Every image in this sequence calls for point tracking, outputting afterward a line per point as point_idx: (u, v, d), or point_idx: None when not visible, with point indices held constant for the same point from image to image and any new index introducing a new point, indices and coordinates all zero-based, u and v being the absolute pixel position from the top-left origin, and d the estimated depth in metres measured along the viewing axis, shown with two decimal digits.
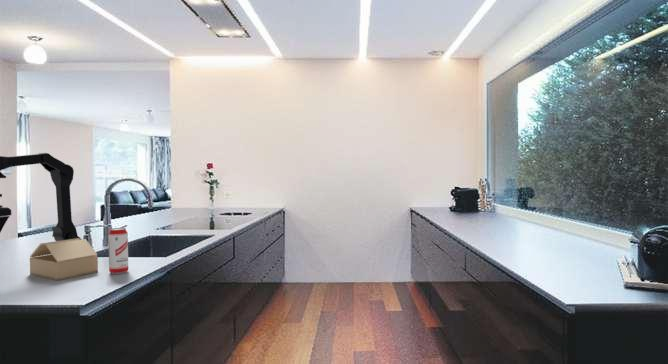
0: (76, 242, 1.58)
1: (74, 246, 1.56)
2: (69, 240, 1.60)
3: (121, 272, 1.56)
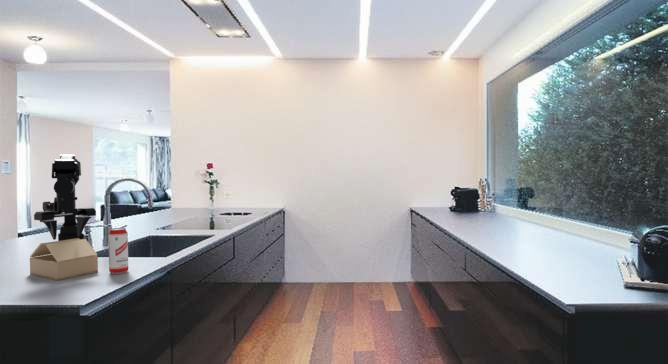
0: (76, 242, 1.58)
1: (74, 246, 1.56)
2: (69, 240, 1.60)
3: (121, 272, 1.56)
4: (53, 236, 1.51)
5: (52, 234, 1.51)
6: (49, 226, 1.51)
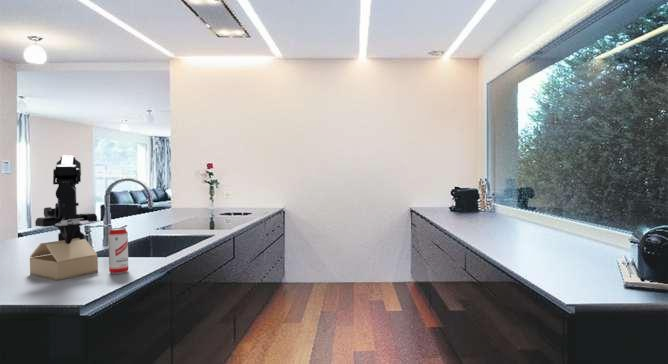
0: (76, 242, 1.58)
1: (74, 246, 1.56)
2: None
3: (121, 272, 1.56)
4: (66, 240, 1.55)
5: (65, 238, 1.55)
6: (62, 230, 1.54)
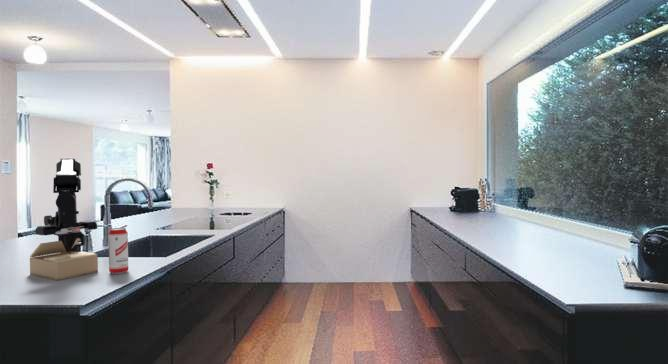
0: (74, 253, 1.59)
1: (72, 254, 1.57)
2: None
3: (121, 272, 1.56)
4: (66, 248, 1.55)
5: (65, 247, 1.54)
6: (62, 239, 1.54)
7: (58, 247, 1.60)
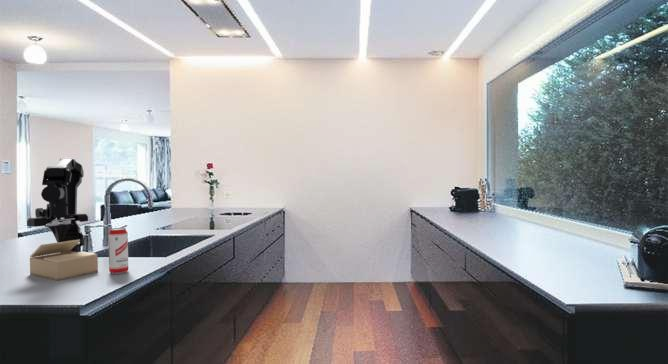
0: (74, 253, 1.59)
1: (72, 254, 1.57)
2: (70, 241, 1.60)
3: (121, 272, 1.56)
4: (58, 240, 1.58)
5: (57, 238, 1.57)
6: (54, 231, 1.57)
7: (58, 248, 1.60)
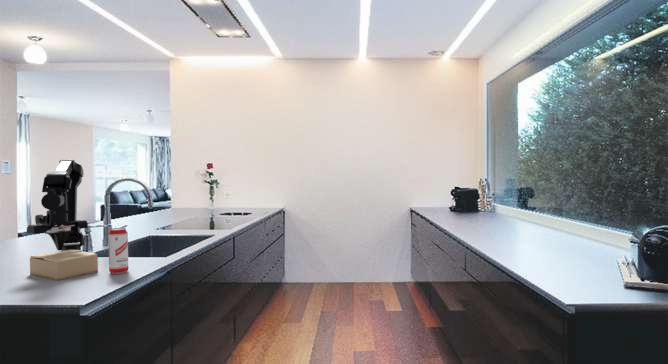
0: (74, 253, 1.59)
1: (72, 254, 1.57)
2: None
3: (121, 272, 1.56)
4: (57, 247, 1.58)
5: (56, 245, 1.57)
6: (53, 237, 1.57)
7: None
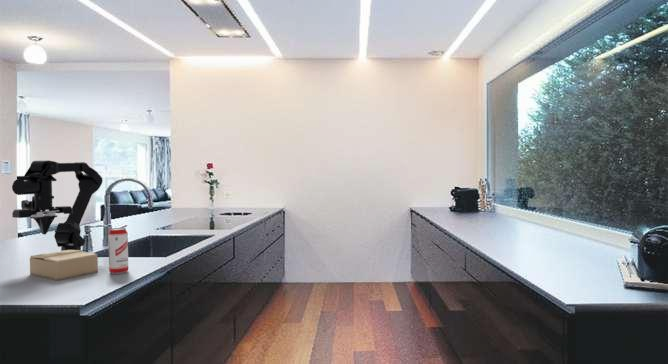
0: (74, 253, 1.59)
1: (72, 254, 1.57)
2: None
3: (121, 272, 1.56)
4: (42, 231, 1.64)
5: (41, 229, 1.64)
6: (39, 222, 1.64)
7: None
